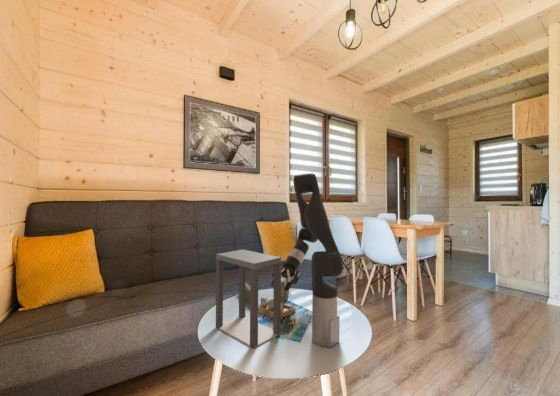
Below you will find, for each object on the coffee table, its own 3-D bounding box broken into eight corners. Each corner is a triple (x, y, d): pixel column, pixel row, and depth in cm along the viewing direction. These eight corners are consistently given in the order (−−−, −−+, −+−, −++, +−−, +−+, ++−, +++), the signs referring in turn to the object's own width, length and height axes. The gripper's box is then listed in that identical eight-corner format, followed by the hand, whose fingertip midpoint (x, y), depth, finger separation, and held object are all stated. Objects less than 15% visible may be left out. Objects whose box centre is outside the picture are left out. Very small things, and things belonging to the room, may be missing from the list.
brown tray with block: (295, 312, 128) (295, 282, 128) (279, 320, 120) (279, 288, 120) (273, 304, 138) (273, 276, 137) (256, 311, 129) (256, 281, 129)
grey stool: (280, 334, 107) (281, 257, 107) (253, 348, 97) (254, 263, 97) (242, 316, 123) (242, 249, 123) (215, 327, 112) (216, 254, 112)
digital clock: (278, 291, 157) (278, 272, 157) (293, 292, 154) (293, 273, 154) (267, 301, 141) (268, 280, 141) (284, 303, 138) (284, 282, 138)
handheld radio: (246, 292, 154) (262, 309, 132) (240, 293, 153) (255, 310, 130) (245, 280, 154) (261, 295, 132) (239, 281, 153) (255, 296, 130)
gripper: (280, 253, 141) (264, 280, 133) (302, 257, 132) (286, 287, 123) (287, 262, 145) (271, 288, 137) (309, 266, 135) (294, 296, 127)
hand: (278, 288), depth 130 cm, fingers open, 8 cm apart
